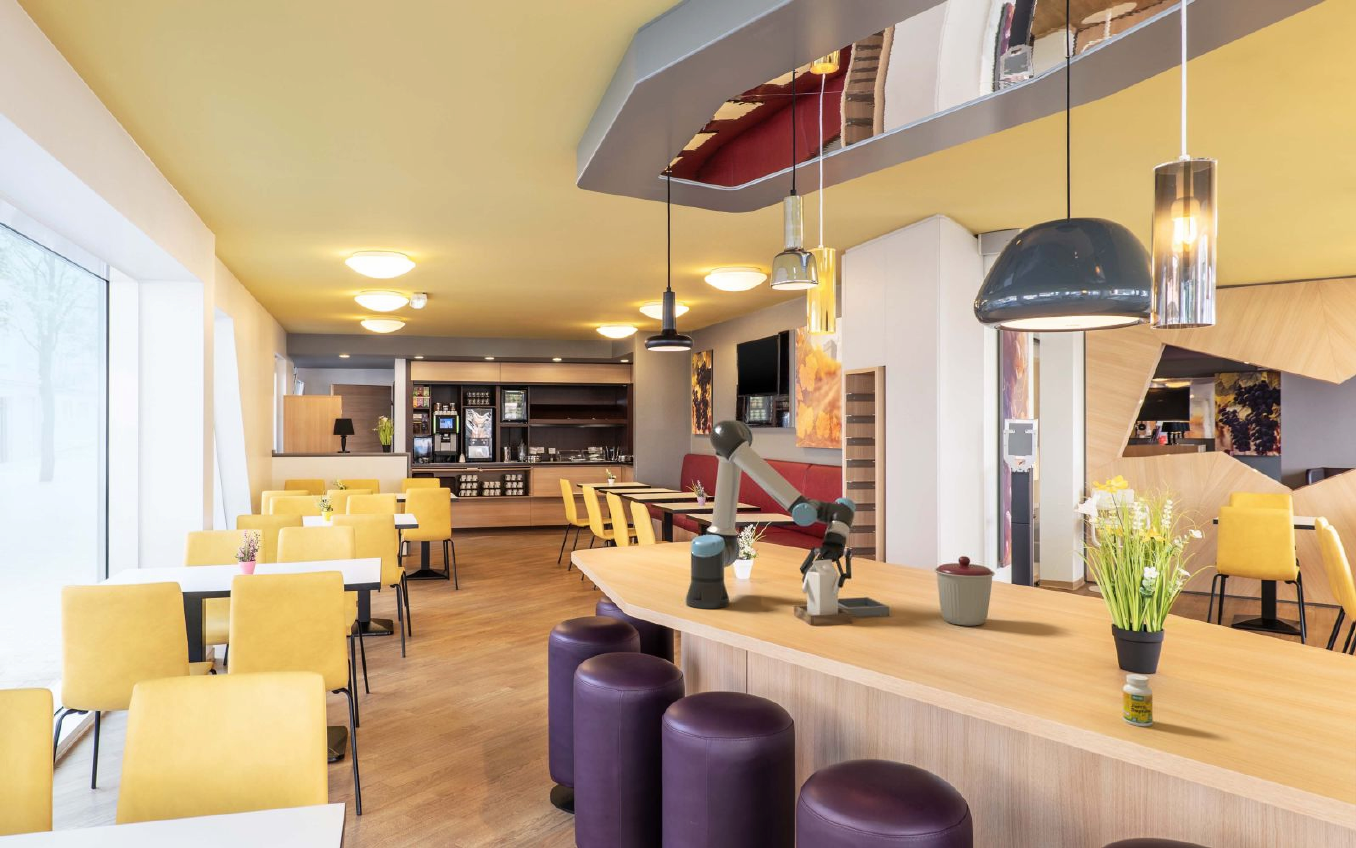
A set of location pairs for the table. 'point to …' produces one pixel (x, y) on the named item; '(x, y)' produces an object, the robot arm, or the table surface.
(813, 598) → the milk carton
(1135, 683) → the supplement bottle
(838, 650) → the table surface
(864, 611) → the tray
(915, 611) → the table surface
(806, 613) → the holder frame
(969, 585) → the canister
